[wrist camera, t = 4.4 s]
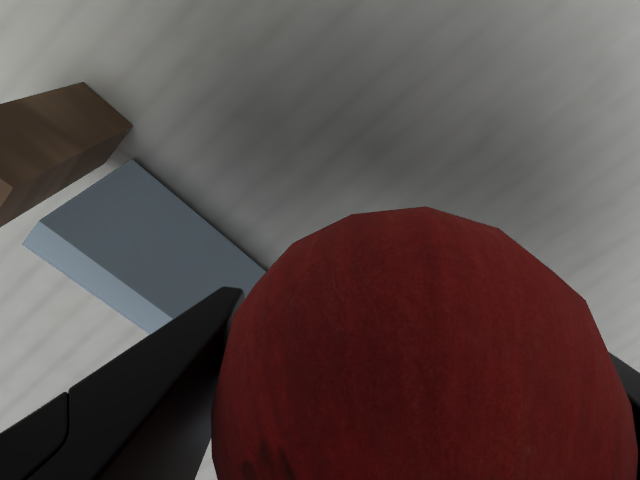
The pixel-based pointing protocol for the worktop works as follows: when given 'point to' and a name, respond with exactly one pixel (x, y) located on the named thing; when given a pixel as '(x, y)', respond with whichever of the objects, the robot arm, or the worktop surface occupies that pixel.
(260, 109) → the worktop surface
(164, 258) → the door
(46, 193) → the door frame
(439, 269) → the onion
